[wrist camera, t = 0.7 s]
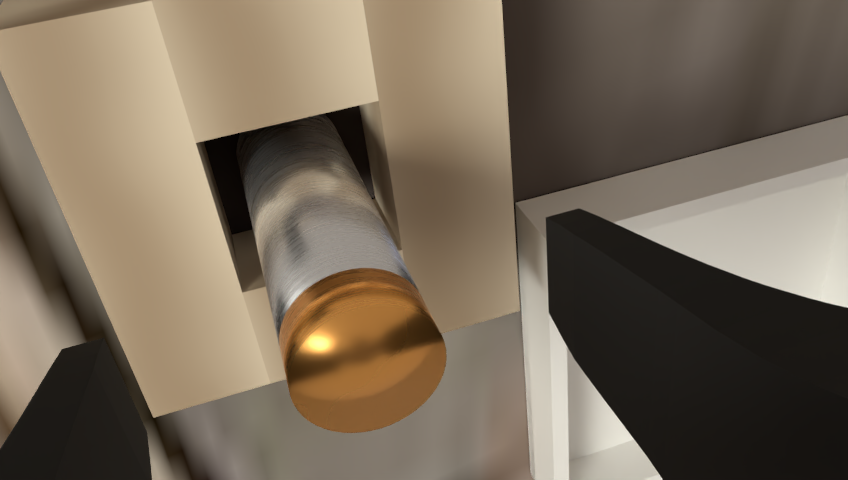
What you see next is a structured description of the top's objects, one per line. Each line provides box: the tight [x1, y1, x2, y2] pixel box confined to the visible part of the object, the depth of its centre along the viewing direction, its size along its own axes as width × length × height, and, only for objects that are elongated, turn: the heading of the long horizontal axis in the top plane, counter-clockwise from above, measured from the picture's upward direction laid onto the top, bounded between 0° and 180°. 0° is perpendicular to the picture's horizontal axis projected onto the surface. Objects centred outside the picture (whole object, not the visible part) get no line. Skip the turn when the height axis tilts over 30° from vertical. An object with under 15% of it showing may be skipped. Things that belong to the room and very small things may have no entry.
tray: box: [515, 115, 848, 480], centre depth 24 cm, size 11×11×2 cm
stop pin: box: [237, 114, 446, 433], centre depth 15 cm, size 2×2×8 cm
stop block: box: [0, 0, 520, 418], centre depth 17 cm, size 9×9×2 cm
